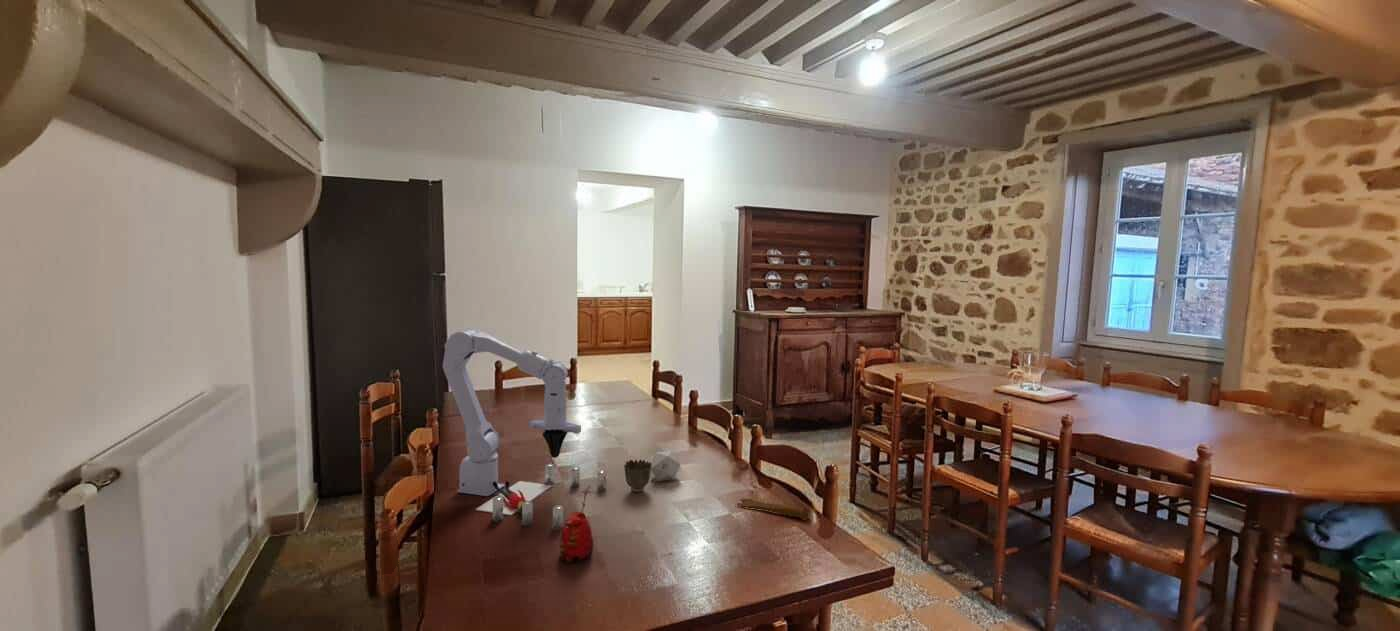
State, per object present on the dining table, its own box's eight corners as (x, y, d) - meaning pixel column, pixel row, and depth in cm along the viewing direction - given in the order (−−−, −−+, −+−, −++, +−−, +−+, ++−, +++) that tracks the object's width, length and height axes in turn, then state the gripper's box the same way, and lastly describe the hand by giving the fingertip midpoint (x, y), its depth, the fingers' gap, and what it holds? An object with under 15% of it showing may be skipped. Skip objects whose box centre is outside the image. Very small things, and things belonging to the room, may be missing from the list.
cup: (646, 498, 154) (646, 469, 153) (620, 495, 156) (620, 466, 155) (654, 488, 161) (654, 460, 161) (628, 485, 163) (629, 457, 162)
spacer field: (490, 520, 138) (490, 500, 138) (547, 480, 165) (548, 463, 164) (559, 530, 134) (560, 510, 133) (607, 488, 160) (607, 470, 160)
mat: (475, 510, 144) (475, 509, 144) (519, 482, 163) (519, 481, 163) (511, 515, 141) (511, 514, 141) (551, 486, 160) (551, 485, 160)
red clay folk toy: (557, 550, 125) (557, 483, 124) (589, 545, 128) (590, 479, 126) (562, 567, 118) (563, 496, 117) (596, 561, 121) (597, 492, 119)
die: (643, 480, 169) (649, 461, 163) (655, 458, 176) (661, 439, 170) (668, 492, 168) (675, 473, 162) (679, 470, 175) (686, 451, 169)
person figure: (509, 474, 156) (531, 496, 142) (513, 486, 157) (536, 509, 143) (490, 483, 154) (511, 506, 139) (495, 495, 155) (516, 520, 140)
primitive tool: (733, 507, 151) (734, 494, 151) (741, 500, 156) (742, 487, 156) (805, 524, 142) (805, 510, 142) (811, 516, 147) (811, 503, 147)
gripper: (523, 408, 154) (523, 457, 155) (572, 413, 150) (572, 464, 152) (537, 402, 161) (537, 450, 162) (584, 407, 157) (584, 455, 158)
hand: (555, 456), depth 157 cm, fingers closed
